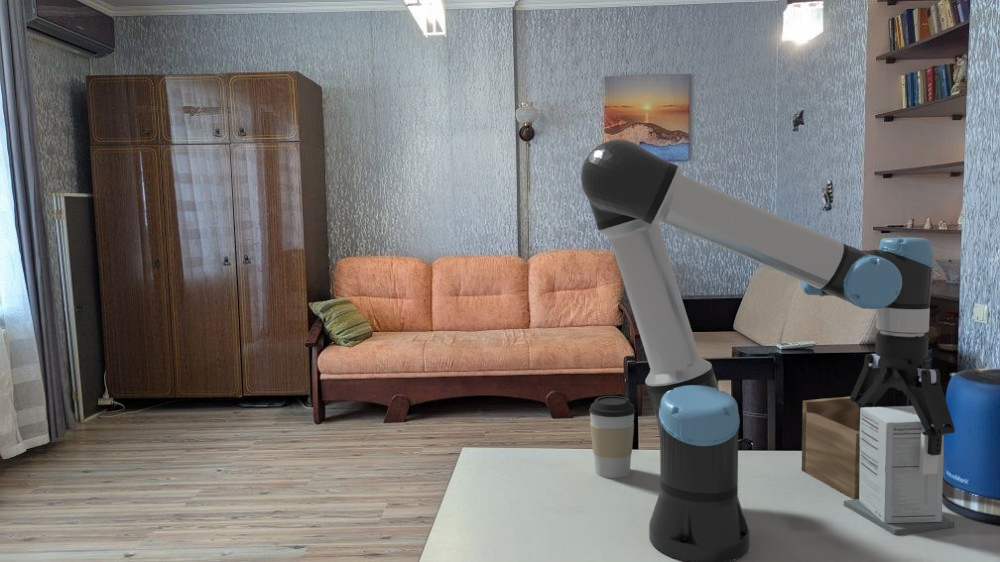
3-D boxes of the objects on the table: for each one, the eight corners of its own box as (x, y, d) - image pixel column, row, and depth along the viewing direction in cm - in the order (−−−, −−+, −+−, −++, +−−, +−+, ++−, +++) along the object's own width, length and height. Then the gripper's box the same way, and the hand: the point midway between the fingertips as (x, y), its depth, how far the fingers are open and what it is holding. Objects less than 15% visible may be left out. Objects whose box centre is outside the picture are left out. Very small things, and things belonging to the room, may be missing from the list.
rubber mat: (894, 534, 115) (895, 530, 115) (843, 505, 126) (843, 500, 126) (954, 526, 117) (954, 522, 117) (898, 498, 129) (898, 494, 129)
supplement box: (912, 500, 126) (915, 404, 124) (943, 523, 117) (947, 420, 115) (856, 501, 126) (858, 405, 124) (883, 524, 117) (886, 421, 115)
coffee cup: (585, 478, 142) (585, 402, 140) (593, 462, 151) (593, 391, 149) (632, 482, 139) (632, 405, 138) (638, 466, 148) (637, 393, 146)
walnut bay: (854, 499, 129) (856, 422, 127) (801, 470, 143) (802, 400, 142) (924, 491, 132) (926, 415, 130) (865, 463, 146) (867, 395, 145)
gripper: (987, 345, 107) (979, 484, 109) (868, 320, 132) (863, 434, 134) (944, 347, 106) (936, 489, 108) (831, 321, 130) (827, 437, 132)
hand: (896, 459), depth 121 cm, fingers open, 13 cm apart
